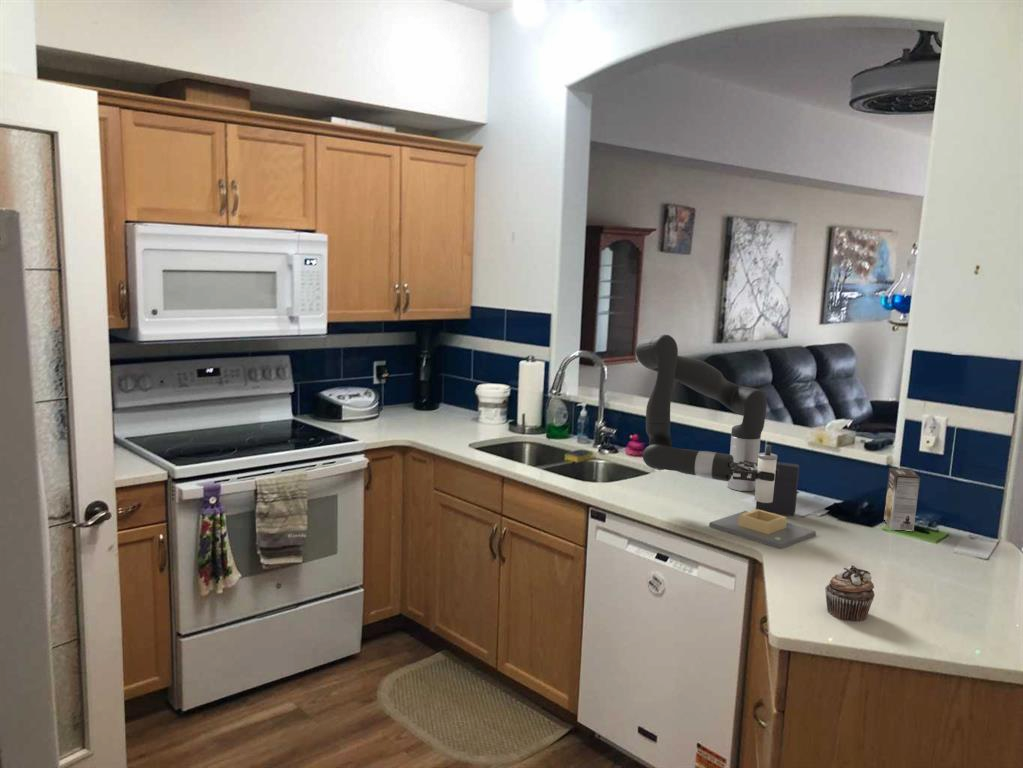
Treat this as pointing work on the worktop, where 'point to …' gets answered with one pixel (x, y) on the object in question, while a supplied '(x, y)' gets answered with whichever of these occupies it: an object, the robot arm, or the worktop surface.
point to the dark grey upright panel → (783, 491)
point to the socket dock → (763, 528)
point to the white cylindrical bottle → (764, 487)
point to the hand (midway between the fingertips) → (776, 475)
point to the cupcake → (850, 594)
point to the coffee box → (901, 499)
